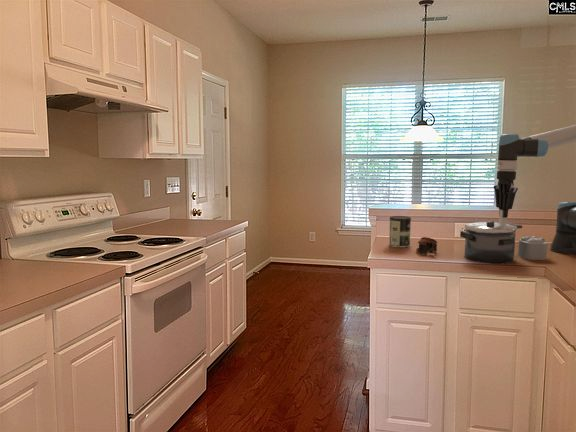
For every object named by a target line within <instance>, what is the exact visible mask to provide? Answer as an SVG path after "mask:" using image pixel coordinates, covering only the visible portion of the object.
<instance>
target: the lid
mask: <svg viewBox="0 0 576 432" xmlns="http://www.w3.org/2000/svg"><path fill="white" fill-rule="evenodd" d="M522 228H523V225H522V224H518V223H514V222H507V225H499V222H495V221H491V220H490V221H489V220H488V221H481V222H471V223H466V224H464V231H466V230H467V231H470V232H476V233H485V234H505V233H513V232H515V233H516V232H517V231H518V230H519V229H522Z"/></svg>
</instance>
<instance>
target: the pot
mask: <svg viewBox="0 0 576 432" xmlns="http://www.w3.org/2000/svg"><path fill="white" fill-rule="evenodd" d="M459 233H460V234H459V236H460V237H461V238H464V241H465V242H464V253H463V254H464V255H463V256H464V259H466V260H469V261H472V262H476V263H481V264H493V265H494V264H495V265H497V264H502V263H504V264H509V263H512V262H514V260H515V250H516V249H515V247H516V246H515V245H516V232H513V233H505V234H485V233H476V232H470V231H467V230H461V231H460V232H459ZM502 265H503V264H502Z"/></svg>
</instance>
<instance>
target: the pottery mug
mask: <svg viewBox="0 0 576 432" xmlns="http://www.w3.org/2000/svg"><path fill="white" fill-rule="evenodd" d="M417 244H418V248H416V252H415V253H416V254H422V255H425V256H426V255H428V253H429V254H433V253H436V252H437V249H438V248H437V247H438V241H437V240H436V239H434V238H431V237H428V236H427V237H426V236H423V237H420V240H418V242H417Z"/></svg>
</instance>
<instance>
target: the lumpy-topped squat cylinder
mask: <svg viewBox="0 0 576 432" xmlns="http://www.w3.org/2000/svg"><path fill="white" fill-rule="evenodd" d="M547 254H548V242H547V241H546V240H545V238H544V237H539V238H537V237H536V235H533V236H531V237H530V236H529V235H526V236H524V237H523V236H522V237H521V238H520V239H518V251H517V256H519V258H522V259H523V260H535V261H539V260H540V261H546V260H547Z"/></svg>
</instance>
